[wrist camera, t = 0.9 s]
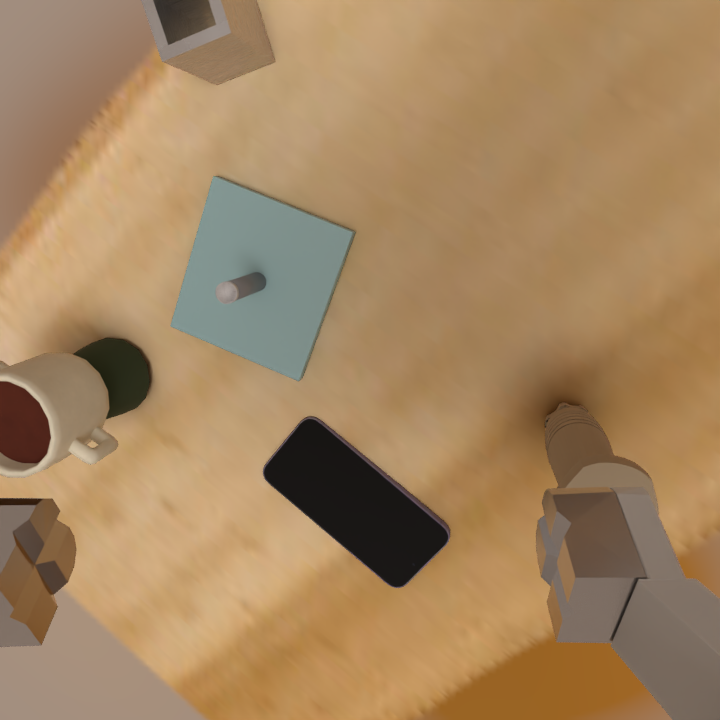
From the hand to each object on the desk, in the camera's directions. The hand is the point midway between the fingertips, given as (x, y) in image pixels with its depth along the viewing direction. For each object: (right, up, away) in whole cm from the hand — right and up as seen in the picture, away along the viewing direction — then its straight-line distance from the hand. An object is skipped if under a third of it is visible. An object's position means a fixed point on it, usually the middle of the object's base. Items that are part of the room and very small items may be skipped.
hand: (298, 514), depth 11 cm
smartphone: (+1, -9, +41) cm, 42 cm away
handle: (+16, -2, +36) cm, 39 cm away
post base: (-6, +9, +37) cm, 39 cm away
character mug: (-19, +2, +42) cm, 46 cm away
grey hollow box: (-8, +25, +33) cm, 42 cm away
